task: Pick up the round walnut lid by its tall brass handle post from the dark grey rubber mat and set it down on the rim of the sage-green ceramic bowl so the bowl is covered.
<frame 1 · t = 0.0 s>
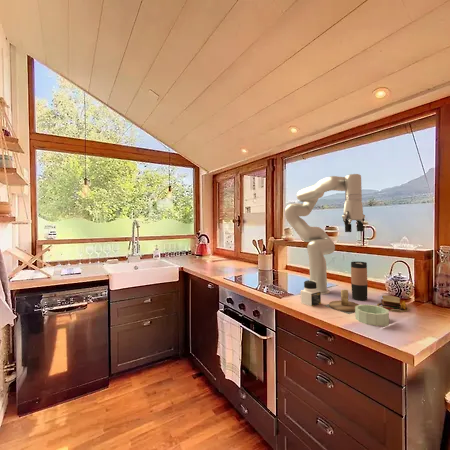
hand: (354, 231, 128), 37 cm above the countertop, tool pointing down, fingers open, 9 cm apart
medicine bottle: (310, 304, 128), on the countertop
travel mug: (359, 300, 133), on the countertop
lid: (344, 306, 121), point 1 cm above the countertop, touching mat
toy sandwich meal: (391, 309, 119), on the countertop
mat: (344, 308, 121), on the countertop
bowl: (371, 321, 104), on the countertop
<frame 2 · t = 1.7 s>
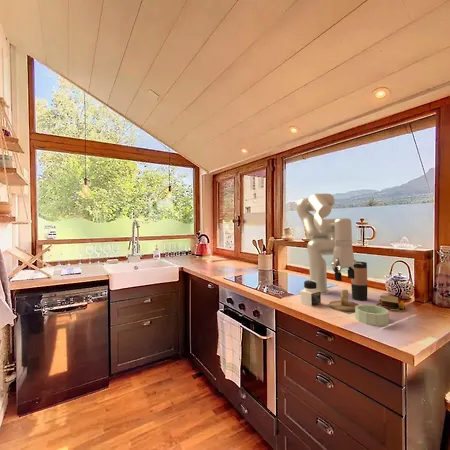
hand: (344, 279, 120), 14 cm above the countertop, tool pointing down, fingers open, 9 cm apart
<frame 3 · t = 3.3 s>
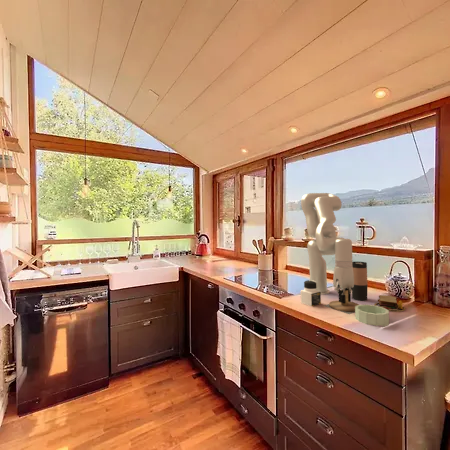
hand: (344, 301, 121), 3 cm above the countertop, tool pointing down, fingers closed on lid, 3 cm apart
lid: (344, 306, 121), point 1 cm above the countertop, touching gripper, mat
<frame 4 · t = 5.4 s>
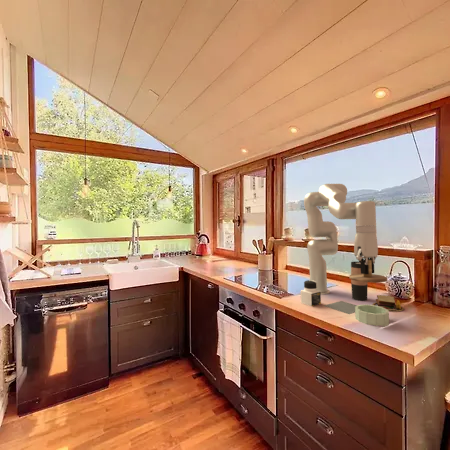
hand: (367, 272, 106), 20 cm above the countertop, tool pointing down, fingers closed on lid, 3 cm apart
lid: (367, 278, 106), point 17 cm above the countertop, touching gripper
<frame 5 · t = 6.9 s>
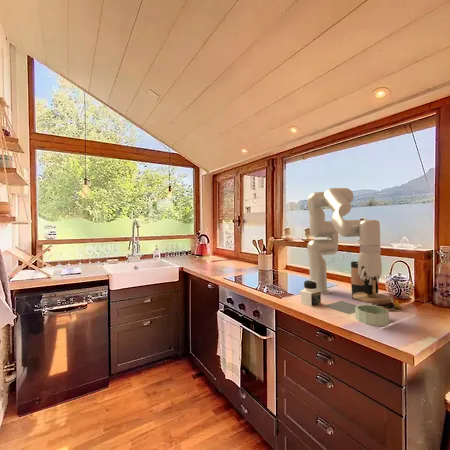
hand: (371, 292, 104), 12 cm above the countertop, tool pointing down, fingers closed on lid, 3 cm apart
lid: (371, 298, 104), point 9 cm above the countertop, touching gripper
when the fingers open (9 cm above the countertop, at t = 7.8 s): lid drops 1 cm, resting on bowl.
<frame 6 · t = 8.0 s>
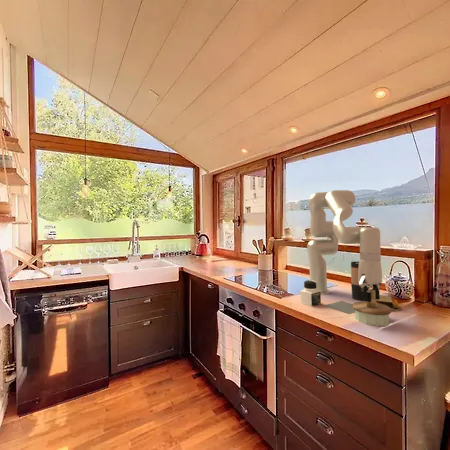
hand: (371, 299, 104), 9 cm above the countertop, tool pointing down, fingers open, 5 cm apart
lid: (371, 309, 104), point 5 cm above the countertop, touching bowl
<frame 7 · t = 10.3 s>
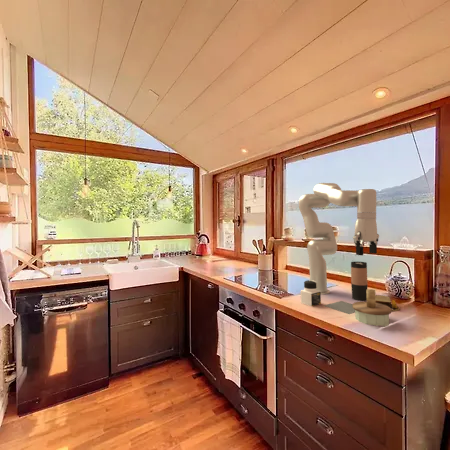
hand: (366, 254, 113), 27 cm above the countertop, tool pointing down, fingers open, 9 cm apart
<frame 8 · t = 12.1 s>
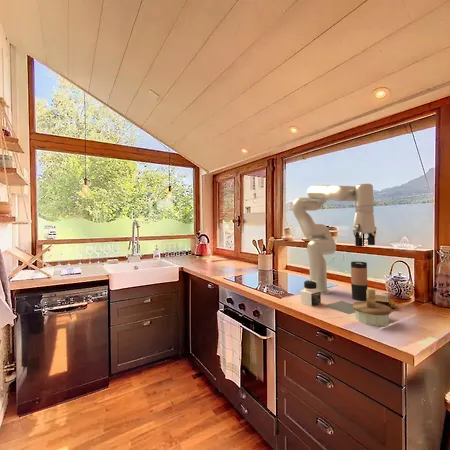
hand: (365, 245, 119), 30 cm above the countertop, tool pointing down, fingers open, 9 cm apart
at the end: lid 0.1 cm off-centre on the bowl, point 5.0 cm above the bowl's base; lid tilted 0°; the gripper is holding nothing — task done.
